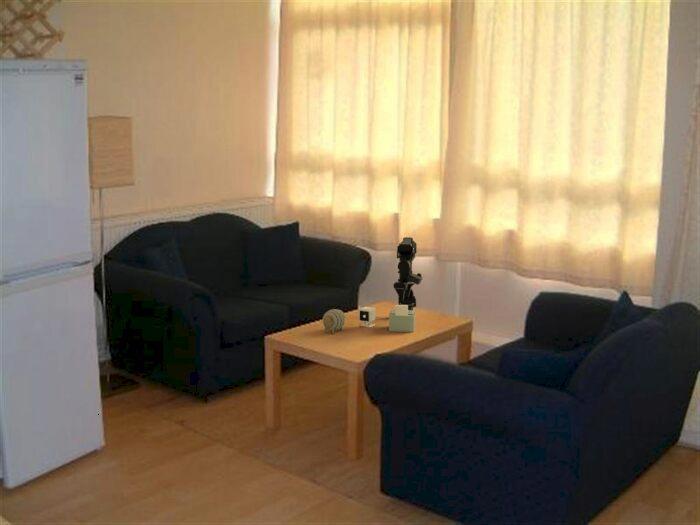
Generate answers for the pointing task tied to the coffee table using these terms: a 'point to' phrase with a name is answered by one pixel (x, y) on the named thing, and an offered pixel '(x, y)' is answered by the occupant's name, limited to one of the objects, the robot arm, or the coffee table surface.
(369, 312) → the security camera
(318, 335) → the coffee table surface
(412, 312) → the green napkin box
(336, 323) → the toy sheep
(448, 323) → the coffee table surface
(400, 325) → the green envelope with card
